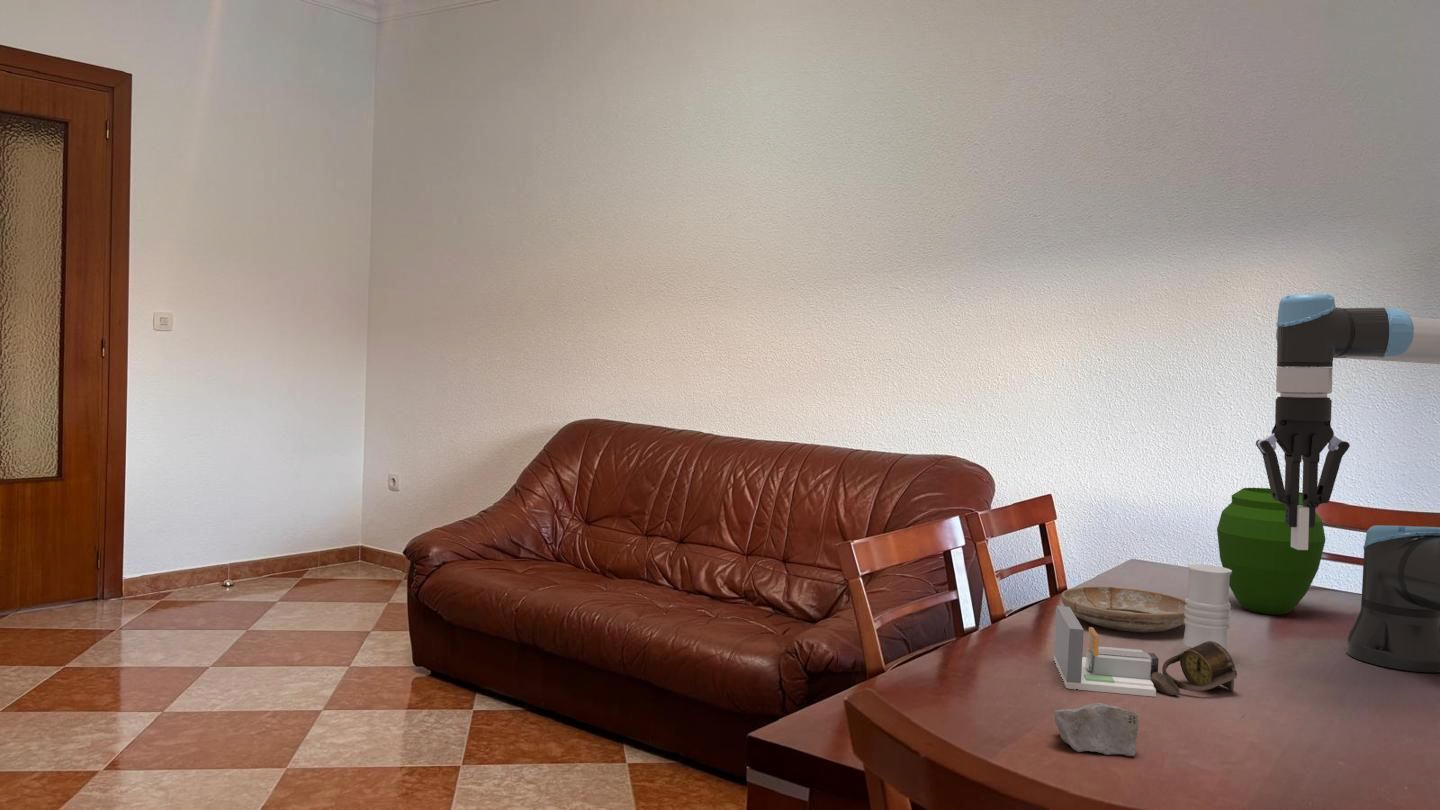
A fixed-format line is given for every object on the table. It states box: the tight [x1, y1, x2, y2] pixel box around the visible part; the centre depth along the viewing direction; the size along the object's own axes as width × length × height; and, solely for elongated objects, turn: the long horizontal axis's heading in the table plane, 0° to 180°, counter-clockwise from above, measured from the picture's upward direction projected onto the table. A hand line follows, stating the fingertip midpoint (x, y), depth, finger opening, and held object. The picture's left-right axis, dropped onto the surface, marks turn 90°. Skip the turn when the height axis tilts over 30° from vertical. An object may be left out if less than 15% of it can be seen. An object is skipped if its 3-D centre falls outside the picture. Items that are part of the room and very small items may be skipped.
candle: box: [1182, 563, 1232, 650], centre depth 175 cm, size 7×7×15 cm
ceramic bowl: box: [1060, 586, 1187, 633], centre depth 197 cm, size 23×24×5 cm
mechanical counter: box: [1150, 641, 1238, 696], centre depth 157 cm, size 7×13×10 cm
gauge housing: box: [1053, 605, 1157, 698], centre depth 161 cm, size 12×15×9 cm
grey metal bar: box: [1085, 626, 1160, 677], centre depth 159 cm, size 10×6×6 cm, turn 79°
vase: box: [1216, 487, 1326, 616], centre depth 212 cm, size 20×20×24 cm
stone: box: [1054, 702, 1139, 757], centre depth 132 cm, size 8×10×6 cm
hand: (1299, 548), depth 162 cm, fingers closed
